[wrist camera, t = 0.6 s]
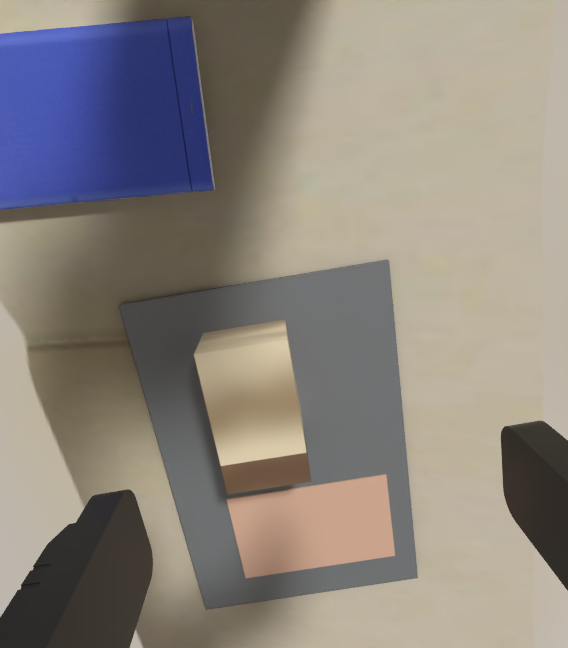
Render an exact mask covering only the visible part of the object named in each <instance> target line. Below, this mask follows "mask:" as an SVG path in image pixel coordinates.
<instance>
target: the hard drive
mask: <svg viewBox="0 0 568 648" xmlns="http://www.w3.org/2000/svg"><path fill="white" fill-rule="evenodd" d="M208 190H215V183H214V176H213V169H212V161H211V154H210V146H209V139H208V131H207V124H206V116H205V108H204V101H203V94H202V86H201V78H200V71H199V63H198V55H197V47H196V40H195V32H194V24H193V20H192V18H191V17H190V16H189V17H177V18H169V19H156V20H146V21H136V22H123V23H113V24H105V25H92V26H80V27H70V28H56V29H45V30H37V31H24V32H14V33H4V34H0V210H9V209H20V208H30V207H41V206H51V205H62V204H72V203H82V202H93V201H103V200H114V199H125V198H135V197H145V196H155V195H166V194H176V193H186V192H197V191H208Z"/></svg>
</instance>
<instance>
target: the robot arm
mask: <svg viewBox="0 0 568 648" xmlns="http://www.w3.org/2000/svg"><path fill="white" fill-rule="evenodd" d="M501 448H502V470H503V489H504V496H505V500H506V503H507V506H508V508H509V511H510V513H511V515H512V517H513V518H514V520H515V521H516V523H517V524H518V525H519V527H520V528H521V529H522V531H523V532H524V533H525V535H526V536H527V537H528V539H529V540H530V541H531V543H532V544H533V545H534V547H535V548H536V549H537V551H538V552H539V553H540V555H541V556H542V557H543V558H544V560H545V561H546V562H547V563H548V565H549V566H550V568H551V569H552V570H553V572H554V573H555V574H556V576H557V577H558V578H559V580H560V581H561V582H562V584H563V585H564V586H565V588H566V589H567V590H568V441H567V440H566V439H565V438H564V437H563V436H561V435H560V434H559V433H558V432H557V431H555V430H554V429H552V427H550V426H549V425H548V424H547V423H545V422H543V421H535V422H529V423H523V424H517V425H511V426H506V427H504V428H503V429H502V432H501ZM33 567H34V569H33V570H32V571H30V572H29V574H28V575H27V577H26V579H25V580H24V582H23V583H22V585H21V590H18V591H17V592H16V594H15V596H14V597H13V599H12V600H11V602H10V604H9V605H8V606H7V608H6V610H5V611H4V613H3V614H2V616H1V617H0V648H129V647H130V644H131V641H132V638H133V634H134V631H135V628H136V625H137V622H138V619H139V616H140V612H141V609H142V606H143V603H144V600H145V596H146V593H147V590H148V587H149V584H150V580H151V576H152V567H153V558H152V550H151V546H150V542H149V539H148V536H147V533H146V529H145V526H144V523H143V520H142V517H141V513H140V510H139V507H138V504H137V501H136V498H135V495H134V493H133V492H132V491H131V490H122V491H116V492H110V493H105V494H99V495H94V496H93V497H91V499H90V500H89V502H88V503H87V505H86V507H85V508H84V510H83V512H82V514H81V515H80V517H79V518H78V520H77V522H76V523H73V524H69V525H68V526H67V527H65V528H64V530H62V531H61V532H60V533H59V534H58V535H57V536H56V537H55V538H54V539H53V540H52V541H51V542H49V543H48V545H47V546H46V548H45V549H44V550H43V552H42V554H41V555H40V557H39V558H38V560H37V561H36V563H35V564H34V566H33Z"/></svg>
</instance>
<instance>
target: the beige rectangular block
mask: <svg viewBox="0 0 568 648" xmlns="http://www.w3.org/2000/svg"><path fill="white" fill-rule="evenodd" d="M194 358H195V362H196V366H197V370H198V374H199V378H200V382H201V387H202V391H203V395H204V399H205V403H206V407H207V411H208V416H209V420H210V424H211V428H212V432H213V436H214V440H215V444H216V449H217V453H218V457H219V461H220V465H221V469H222V473H223V478H224V482H225V486H226V490H227V494H228V495H229V494H235V493H242V492H248V491H255V490H261V489H268V488H274V487H280V486H287V485H293V484H300V483H306V482H311V475H310V467H309V460H308V452H307V446H306V440H305V434H304V428H303V422H302V416H301V410H300V404H299V398H298V393H297V387H296V381H295V375H294V369H293V363H292V357H291V351H290V345H289V339H288V334H287V328H286V322H285V320H280V321H274V322H268V323H262V324H256V325H250V326H243V327H237V328H231V329H225V330H219V331H213V332H207V333H203V335H202V337H201V339H200V342H199V344H198V346H197V348H196V351H195V353H194Z"/></svg>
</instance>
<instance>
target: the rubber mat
mask: <svg viewBox="0 0 568 648" xmlns="http://www.w3.org/2000/svg"><path fill="white" fill-rule="evenodd" d="M119 308H120V312H121V315H122V319H123V322H124V326H125V329H126V333H127V336H128V340H129V343H130V346H131V350H132V353H133V357H134V360H135V364H136V367H137V371H138V374H139V378H140V381H141V385H142V388H143V392H144V395H145V399H146V402H147V406H148V409H149V413H150V416H151V420H152V423H153V427H154V430H155V434H156V437H157V441H158V444H159V448H160V451H161V454H162V458H163V461H164V465H165V468H166V472H167V475H168V479H169V482H170V486H171V489H172V493H173V496H174V500H175V503H176V507H177V510H178V514H179V517H180V521H181V524H182V528H183V531H184V535H185V538H186V542H187V545H188V549H189V552H190V555H191V559H192V562H193V566H194V569H195V573H196V576H197V580H198V583H199V587H200V590H201V594H202V597H203V601H204V604H205V608H206V610H207V609H214V608H220V607H227V606H234V605H240V604H247V603H254V602H261V601H267V600H274V599H281V598H287V597H294V596H301V595H307V594H314V593H321V592H327V591H334V590H341V589H347V588H354V587H361V586H368V585H374V584H381V583H388V582H394V581H401V580H408V579H414V578H418V576H417V565H416V553H415V542H414V531H413V520H412V509H411V498H410V487H409V476H408V465H407V454H406V443H405V432H404V421H403V410H402V399H401V388H400V377H399V366H398V355H397V344H396V333H395V322H394V311H393V300H392V289H391V278H390V267H389V261H388V260H383V261H377V262H371V263H365V264H359V265H353V266H347V267H341V268H335V269H329V270H323V271H316V272H310V273H304V274H298V275H292V276H286V277H280V278H274V279H268V280H262V281H256V282H250V283H244V284H238V285H232V286H226V287H220V288H214V289H208V290H202V291H196V292H190V293H184V294H178V295H172V296H166V297H160V298H154V299H148V300H142V301H136V302H130V303H124V304H120V305H119ZM280 320H285V322H286V328H287V334H288V339H289V345H290V351H291V357H292V363H293V369H294V375H295V381H296V387H297V393H298V398H299V404H300V410H301V416H302V422H303V428H304V434H305V440H306V446H307V452H308V460H309V467H310V475H311V482H306V483H300V484H293V485H287V486H280V487H274V488H268V489H261V490H255V491H248V492H242V493H235V494H229V495H228V494H227V490H226V486H225V482H224V478H223V473H222V469H221V465H220V461H219V457H218V453H217V449H216V444H215V440H214V436H213V432H212V428H211V424H210V420H209V416H208V411H207V407H206V403H205V399H204V395H203V391H202V387H201V382H200V378H199V374H198V370H197V366H196V362H195V358H194V353H195V351H196V348H197V346H198V344H199V342H200V339H201V337H202V335H203V333H207V332H213V331H219V330H225V329H231V328H237V327H243V326H250V325H256V324H262V323H268V322H274V321H280Z"/></svg>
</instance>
